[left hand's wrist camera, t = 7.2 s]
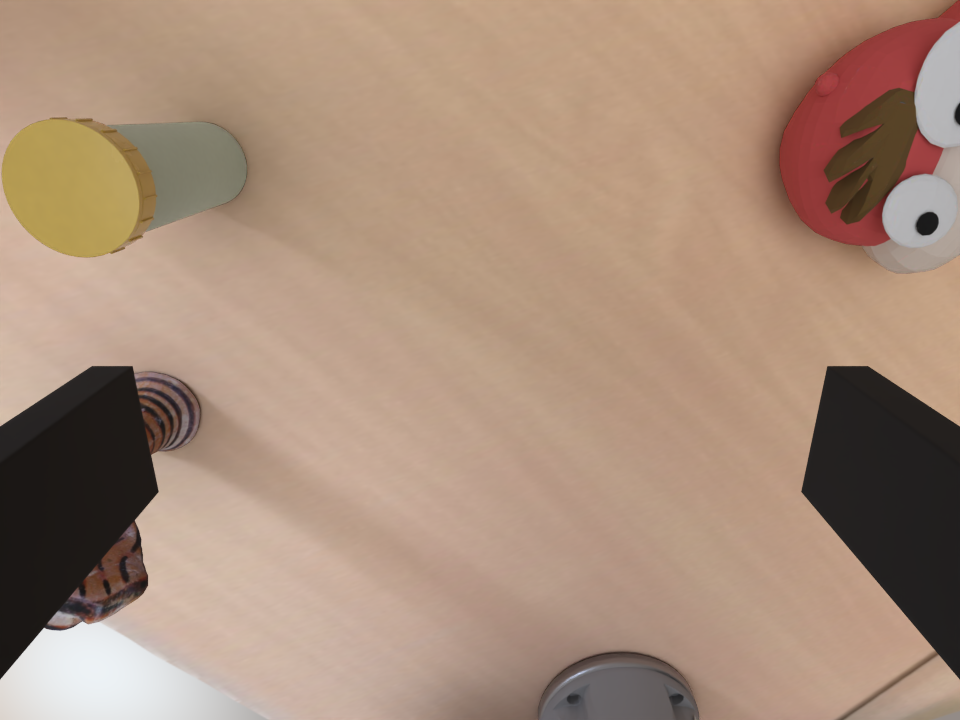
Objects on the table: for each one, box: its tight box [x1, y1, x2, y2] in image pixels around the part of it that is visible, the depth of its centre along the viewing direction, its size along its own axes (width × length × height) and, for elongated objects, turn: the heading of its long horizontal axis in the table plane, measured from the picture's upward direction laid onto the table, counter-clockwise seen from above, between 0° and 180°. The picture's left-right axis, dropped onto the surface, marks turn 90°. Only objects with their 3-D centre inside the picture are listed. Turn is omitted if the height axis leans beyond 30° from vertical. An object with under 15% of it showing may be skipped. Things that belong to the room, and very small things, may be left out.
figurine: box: [44, 372, 200, 630], centre depth 37 cm, size 15×8×30 cm, turn 71°
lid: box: [2, 118, 157, 257], centre depth 31 cm, size 6×6×2 cm
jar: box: [106, 122, 247, 232], centre depth 38 cm, size 6×6×16 cm
